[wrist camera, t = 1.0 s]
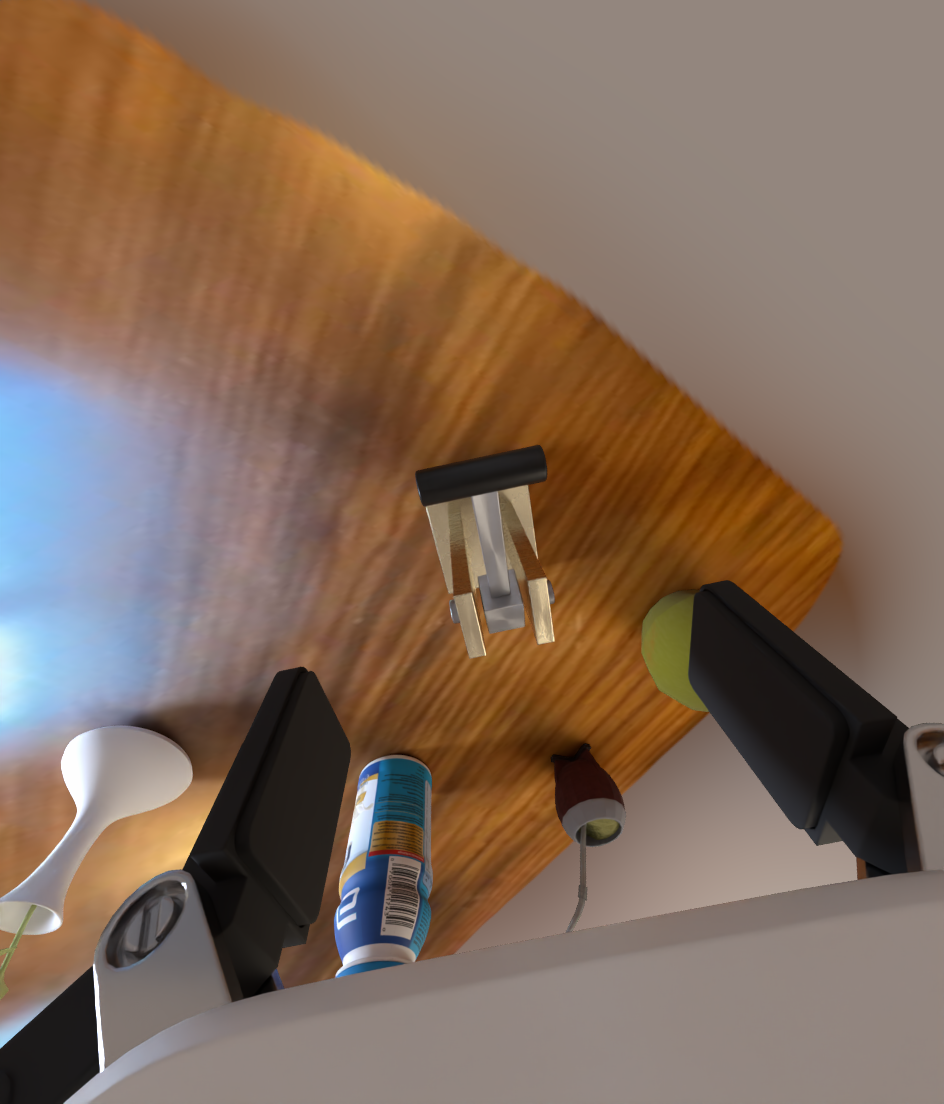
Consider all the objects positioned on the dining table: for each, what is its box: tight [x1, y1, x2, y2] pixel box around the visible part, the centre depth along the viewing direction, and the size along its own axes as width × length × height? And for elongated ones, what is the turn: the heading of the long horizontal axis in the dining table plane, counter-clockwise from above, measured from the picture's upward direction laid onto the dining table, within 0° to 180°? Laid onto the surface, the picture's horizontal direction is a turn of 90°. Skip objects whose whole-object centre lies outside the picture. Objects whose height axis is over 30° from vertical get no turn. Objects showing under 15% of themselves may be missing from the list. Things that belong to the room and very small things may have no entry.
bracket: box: [426, 485, 555, 658], centre depth 28 cm, size 10×8×13 cm
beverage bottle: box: [334, 755, 433, 978], centre depth 39 cm, size 8×8×20 cm
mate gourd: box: [551, 744, 626, 933], centre depth 42 cm, size 8×8×15 cm
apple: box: [642, 589, 709, 712], centre depth 35 cm, size 10×10×11 cm
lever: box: [415, 445, 547, 633], centre depth 21 cm, size 12×5×2 cm, turn 10°
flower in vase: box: [0, 725, 193, 1000], centre depth 32 cm, size 13×11×25 cm
